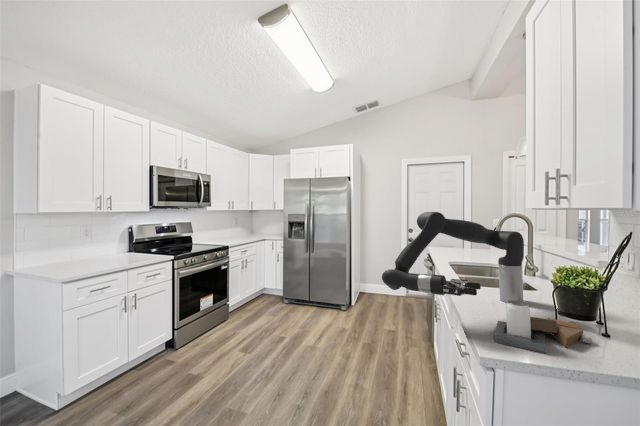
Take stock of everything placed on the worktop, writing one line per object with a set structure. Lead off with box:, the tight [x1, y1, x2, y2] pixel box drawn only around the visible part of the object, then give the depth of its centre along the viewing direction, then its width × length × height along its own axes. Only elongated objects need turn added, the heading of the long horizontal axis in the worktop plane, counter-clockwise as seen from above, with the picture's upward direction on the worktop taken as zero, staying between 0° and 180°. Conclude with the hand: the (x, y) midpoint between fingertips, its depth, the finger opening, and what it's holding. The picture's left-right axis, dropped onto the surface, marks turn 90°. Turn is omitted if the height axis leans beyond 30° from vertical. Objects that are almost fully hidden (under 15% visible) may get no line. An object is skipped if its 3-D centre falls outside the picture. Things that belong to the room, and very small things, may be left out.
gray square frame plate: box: [493, 320, 547, 354], centre depth 90 cm, size 14×13×2 cm
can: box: [505, 300, 532, 338], centre depth 90 cm, size 6×6×12 cm
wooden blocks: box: [530, 316, 593, 349], centre depth 89 cm, size 8×13×18 cm
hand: (478, 289), depth 97 cm, fingers open, 8 cm apart
